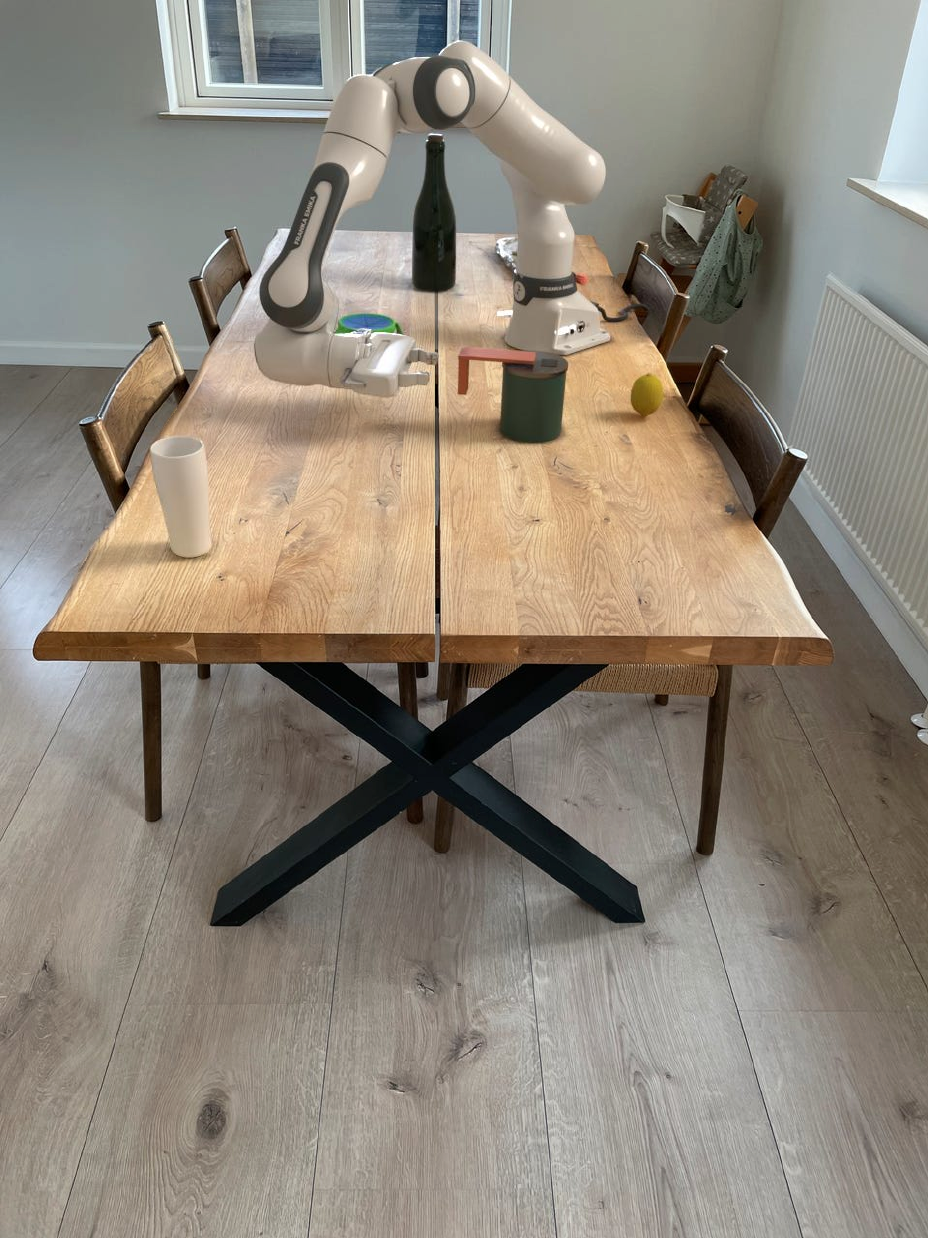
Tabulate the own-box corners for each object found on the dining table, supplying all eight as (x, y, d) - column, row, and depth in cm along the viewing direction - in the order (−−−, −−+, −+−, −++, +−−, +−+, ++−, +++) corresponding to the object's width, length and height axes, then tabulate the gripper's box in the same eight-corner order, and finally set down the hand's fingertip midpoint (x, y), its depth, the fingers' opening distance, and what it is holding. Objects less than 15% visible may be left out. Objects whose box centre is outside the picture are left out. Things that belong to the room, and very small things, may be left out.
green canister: (495, 440, 165) (498, 370, 158) (501, 415, 174) (505, 347, 167) (560, 446, 164) (566, 375, 157) (563, 420, 173) (569, 352, 166)
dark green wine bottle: (464, 285, 239) (468, 133, 220) (439, 295, 231) (442, 139, 213) (427, 277, 243) (429, 128, 225) (403, 287, 236) (402, 134, 217)
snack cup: (389, 359, 196) (389, 307, 190) (417, 376, 188) (417, 322, 183) (318, 373, 188) (315, 319, 183) (344, 391, 181) (342, 336, 175)
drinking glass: (170, 537, 136) (153, 435, 127) (220, 536, 136) (207, 434, 128) (162, 562, 130) (144, 458, 122) (214, 561, 131) (200, 457, 122)
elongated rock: (524, 252, 271) (488, 254, 270) (524, 231, 268) (488, 234, 267) (554, 281, 241) (514, 284, 240) (555, 258, 238) (514, 261, 237)
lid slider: (457, 395, 165) (458, 355, 161) (460, 386, 169) (461, 346, 165) (531, 401, 164) (533, 360, 160) (533, 391, 168) (535, 351, 164)
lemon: (662, 413, 177) (668, 370, 172) (656, 425, 172) (663, 381, 168) (631, 408, 178) (636, 365, 174) (625, 420, 174) (630, 376, 169)
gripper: (336, 365, 156) (423, 371, 155) (363, 324, 173) (442, 330, 172) (337, 403, 160) (422, 410, 158) (364, 360, 176) (441, 365, 175)
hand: (433, 368), depth 165 cm, fingers open, 8 cm apart
